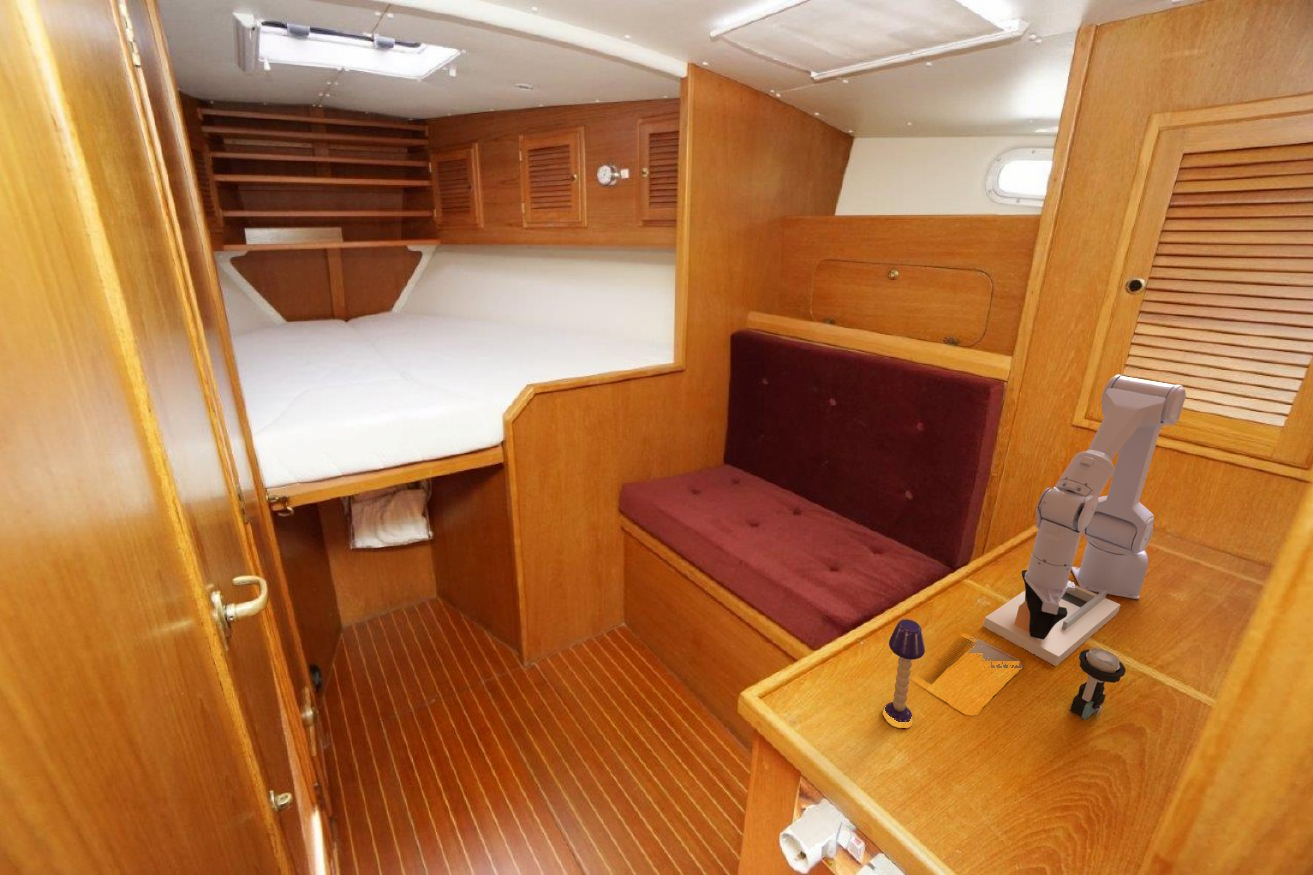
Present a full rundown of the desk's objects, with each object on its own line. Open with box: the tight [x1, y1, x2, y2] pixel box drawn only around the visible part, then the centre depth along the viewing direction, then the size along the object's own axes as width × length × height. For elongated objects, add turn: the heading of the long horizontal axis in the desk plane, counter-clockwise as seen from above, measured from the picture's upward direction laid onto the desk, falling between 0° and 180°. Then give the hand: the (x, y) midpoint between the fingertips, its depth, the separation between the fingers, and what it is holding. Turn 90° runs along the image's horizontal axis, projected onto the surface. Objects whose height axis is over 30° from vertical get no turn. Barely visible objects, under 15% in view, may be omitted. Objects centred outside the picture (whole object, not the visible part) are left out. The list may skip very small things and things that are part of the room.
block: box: [1014, 601, 1030, 633], centre depth 99 cm, size 4×4×4 cm
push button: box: [1069, 647, 1126, 721], centre depth 84 cm, size 7×5×10 cm
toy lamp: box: [884, 618, 926, 722], centre depth 82 cm, size 5×5×17 cm
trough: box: [982, 584, 1121, 667], centre depth 104 cm, size 24×12×4 cm, turn 123°
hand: (1034, 623), depth 100 cm, fingers open, 7 cm apart
